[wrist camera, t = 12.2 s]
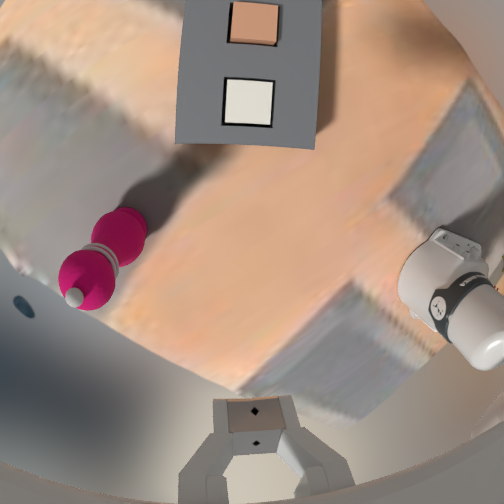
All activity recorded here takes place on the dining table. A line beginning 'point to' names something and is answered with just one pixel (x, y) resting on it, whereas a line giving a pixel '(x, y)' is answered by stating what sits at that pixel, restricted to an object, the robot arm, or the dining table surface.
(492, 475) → the robot arm
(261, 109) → the cream plunger
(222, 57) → the button console
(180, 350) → the dining table surface
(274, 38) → the tan cube
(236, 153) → the dining table surface
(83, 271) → the pepper mill
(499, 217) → the dining table surface
